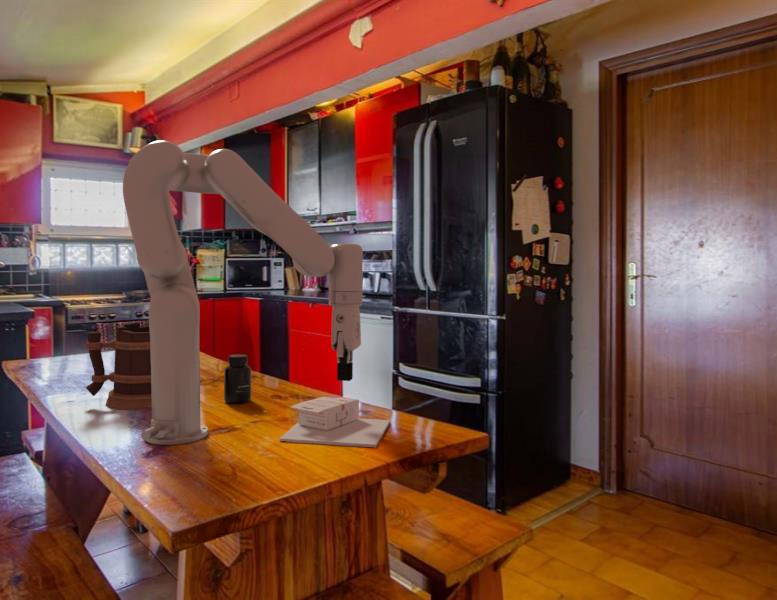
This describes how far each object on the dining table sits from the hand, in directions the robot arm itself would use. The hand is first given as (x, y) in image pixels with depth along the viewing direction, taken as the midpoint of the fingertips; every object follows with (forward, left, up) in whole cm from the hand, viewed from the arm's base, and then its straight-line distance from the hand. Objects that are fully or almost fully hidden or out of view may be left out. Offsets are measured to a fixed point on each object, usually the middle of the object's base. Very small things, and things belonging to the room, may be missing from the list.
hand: (344, 379), depth 133 cm
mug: (+9, +57, -10) cm, 59 cm away
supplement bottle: (+15, +32, -10) cm, 37 cm away
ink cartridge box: (+4, +1, -7) cm, 8 cm away
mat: (-6, 0, -10) cm, 12 cm away
